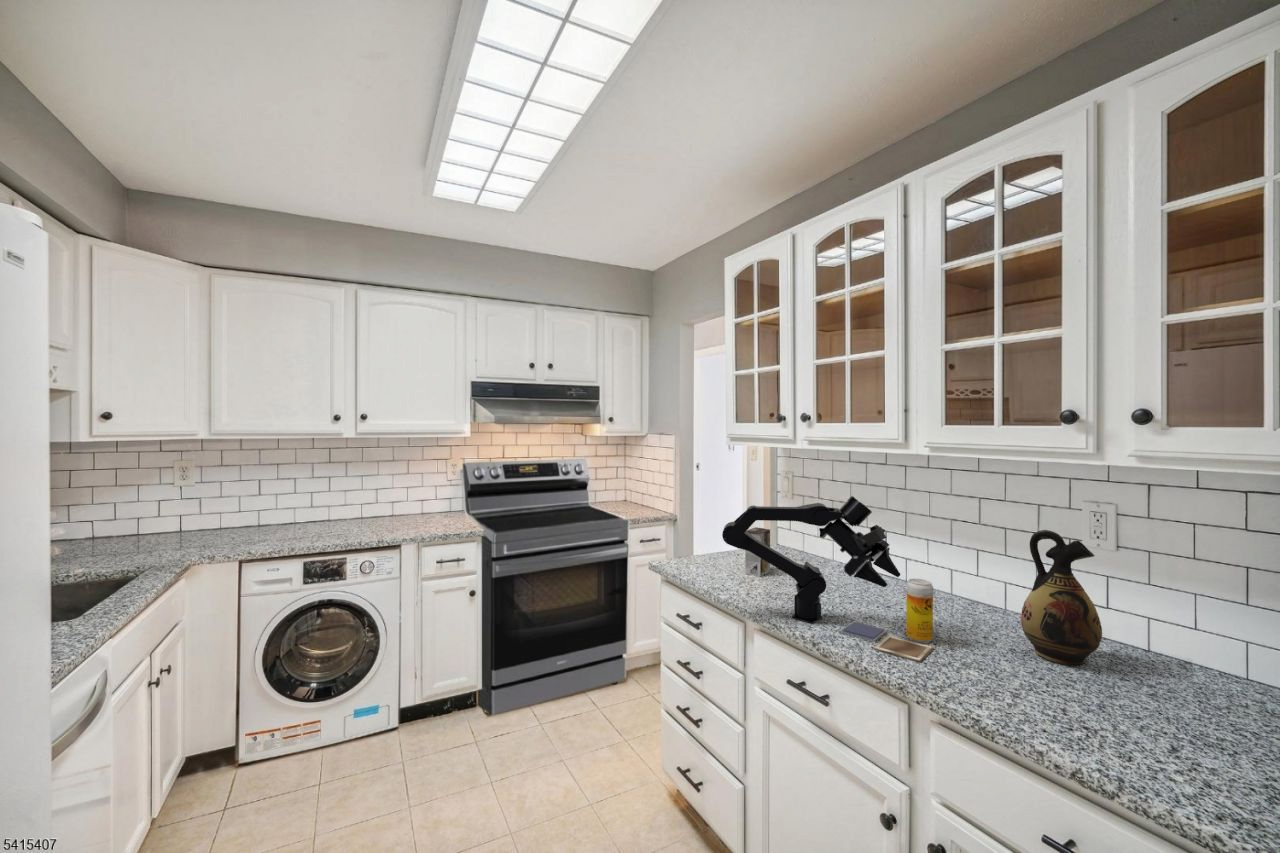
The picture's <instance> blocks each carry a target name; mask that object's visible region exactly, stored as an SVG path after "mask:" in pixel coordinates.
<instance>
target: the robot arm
mask: <svg viewBox="0 0 1280 853" xmlns="http://www.w3.org/2000/svg"><path fill="white" fill-rule="evenodd" d="M872 513H873V511H872V510H871V509H870V508H868V506H866V504H864V503H862V502H861V501H859V500H858V499H856V498H855V497H854V495H851V496H850V497H849V498H848V499H847V501H846V502H845V503H844V504H843V505H841V507H840V508H838V507H829V506H826V504H824V503H820V502H816V503H815V502H814V503H809V504H804V505H799V506H761V505H758V506H757V505H750V506H748V507H747V509H746V510H745V511H744V512H742V513H741V514H740V515H739V516H738V517H737V518H736V519H735V520H733V521H730V522H728V523H726V524H725V525H724V527H723V530H722V534H721V536H722V540H723V542H724V543H725V544H726V545H728V546H732V547H733V548H737V549H740V550H743V551H745V550H747V551H749V552H751V553H753V554H755V555H756V556H758V557H760V558H761V559H763V560H765V561H766V562H768V563H770V566H773V567H775V568H777V570H779V571H782V572H783V573H785V574H786V575H788V576H790V577H792V579H793V580H795V582H796V583H795V588H796V592H797V593H796V594H794V605H793V606H794V607H793V608H794V611H793V612H794V614H792V615H791V619H794V620H799V621H802V622H807V623H811V624H815V622H818V621H819V620H821V619H823V615H822V603H821V598H820V595H821V594H823V593H824V592H826V588H827V582H826V579H825V577H824V575H823V573H822V572H821V571H820V568H819V567H816V566H814V565H812V564H811V563H809V561H805V562H804V564H801V563H797V562H796V561H794V560H792V559H791V558H789V557H787V556H786V555H784V554H782V553H780V552H779V551H777V550H775V549H774V548H773V547H771V546H770V547H769V546H767V545H765V544H764V543H762V542H760V541H759V540H757V539H755V538H754V537H753V536H752V535H751V534H750V533H749V532H748V531H747V530H749V528H750V527H752V525H753V524H754V523H755V522H756V521H766V522H767V521H771V522H774V521H776V522H778V521H779V522H798V523H799V522H800V523H803V524H807V525H812V526H818V527H819V528H818V530H819V538H821V539H825V538H826V537H827V536H828V537H829V538H831V540H833V541H834V542H835V543H836V544H837V545H838V546H839V547H840V549H839V551H840V552H841V553H847V554H848V555H849V556H850V557H851V558H850V560H848V562H847V563H846V564H845V565H844V566H843V570H844V572H845V574H846V575H847V576H848V577H850V578H851V577H852V576H853V578H857V579H862V580H864V581H867V582H870V583H872V584H875V585H878V586H879V587H883V588H886V587H888V583H887V582H886V581H885V579H884V578H883V576H881V575H880V574H879V573H878V572H877V570H876V569H875V568H874V567H873V565H875V566H876V567H878V568H880V569H881V570H883V571H884V572H887V573H889V574H890V575H893V576H894V577H897V578H900V576H901V573H900V571H899V570H898V568H897V567H896V564H895V563H894V561H893V560H892V558H891V556H890V544H889V543H888V542H887V541H886V540H885V539H887V536H886V534H885V532H886V530H885V529H884V528H882V526H880V525H878V524H875V525H873V526H871V527H870V528H869V532H867V533H865V534H864V533H862V532H861V531H860V532H859V531H858V532H856V531H854V530H853V529H852V528H851V527H856V526H857V527H859V526H860V525H861V524H862V523H863V522H864V521H865V520H866V519H867V518H868V517H869V516H870V515H871V514H872ZM843 520H844V521H845V522H847V523H848V524H846V523H845V522H844V521H843ZM849 525H850V526H851V527H850V526H849ZM821 527H822V528H821Z"/></svg>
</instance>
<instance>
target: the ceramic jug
mask: <svg viewBox="0 0 1280 853" xmlns="http://www.w3.org/2000/svg"><path fill="white" fill-rule="evenodd" d="M1042 540H1051V541H1053V542H1054V543H1055V544H1056V545H1054V546H1052V547H1050V548H1049V549H1048V550H1047V551H1046V552H1045V556H1046V558H1048V559H1052V560H1053V562H1052V563H1053V564H1052V566H1051V567H1050V569H1049V570H1048V572H1047V571H1046V569H1045V565H1044V563H1043V561H1042V558H1041V554H1040V551H1039V546H1038V544H1039V541H1042ZM1029 550H1030V555H1031V557H1032V560H1033V562H1034V565H1035V568H1036V572H1037V575H1036V577H1035V580H1034V582H1033V586H1032V589H1031V590H1030V592H1029V594H1028V596H1026V598H1025V600H1024V602H1023V606H1022V608H1021V614H1020V626H1021V629H1022V631H1023V633H1024V635H1025V637H1026V638H1027V640H1028V641H1029V642H1030V643H1031V644H1032V645H1033V647H1034V649H1033V652H1034V653H1035V654H1037V655H1038V656H1040V657H1042V658H1043V659H1045V660H1047V661H1050V662H1053V663H1057V664H1061V665H1064V666H1068V667H1077V666H1079V667H1081V666H1080V665H1082V666H1084V665H1083V664H1085V665H1086V662H1085V661H1086V659H1087V658H1088V657H1089V656H1090V655H1091V654H1093V653H1094V652H1095V651H1096V650H1097V649H1098V648H1099V646H1100V644H1101V641H1102V638H1103V628H1102V625H1101V624H1102V622H1101V620H1100V617H1099V614H1098V612H1097V609H1096V607H1095V604H1094V602H1093V601H1092V599H1091V598H1090V596H1089V595H1088V593H1087V592H1086V590H1085V588H1084V587H1083V586H1082V585H1081V583H1080V582H1079V581H1078V580H1077V578H1076V576H1075V575H1074V573H1073V571H1072V568H1071V566H1072V563H1073V562H1074V561H1075V562H1076V561H1078V560H1083V559H1088V558H1094V557H1095V556H1096V555H1095V554H1094V553H1093V552H1092V551H1091V550H1090V549H1089V548H1087V546H1086V545H1084V544H1083V542H1082V541H1080V540H1073V541H1072V542H1070V543H1068V544H1066V542H1065V540H1064V538H1063V537H1062V536H1061V535H1060V534H1059V533H1057V532H1055V531H1052V530H1048V529H1040V530H1038V531H1036V532H1034V533H1033V534H1032V535H1031V537H1030V540H1029ZM1012 648H1013V646H1012Z"/></svg>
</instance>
